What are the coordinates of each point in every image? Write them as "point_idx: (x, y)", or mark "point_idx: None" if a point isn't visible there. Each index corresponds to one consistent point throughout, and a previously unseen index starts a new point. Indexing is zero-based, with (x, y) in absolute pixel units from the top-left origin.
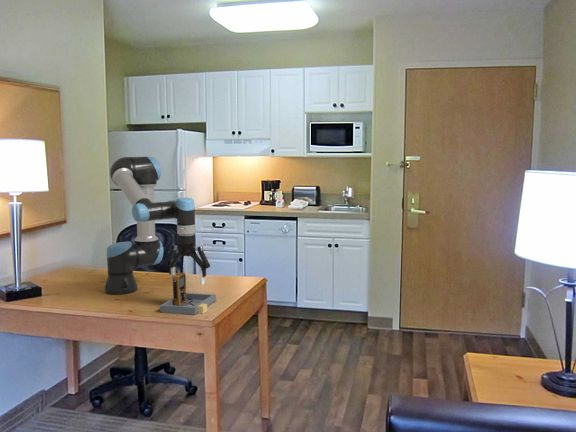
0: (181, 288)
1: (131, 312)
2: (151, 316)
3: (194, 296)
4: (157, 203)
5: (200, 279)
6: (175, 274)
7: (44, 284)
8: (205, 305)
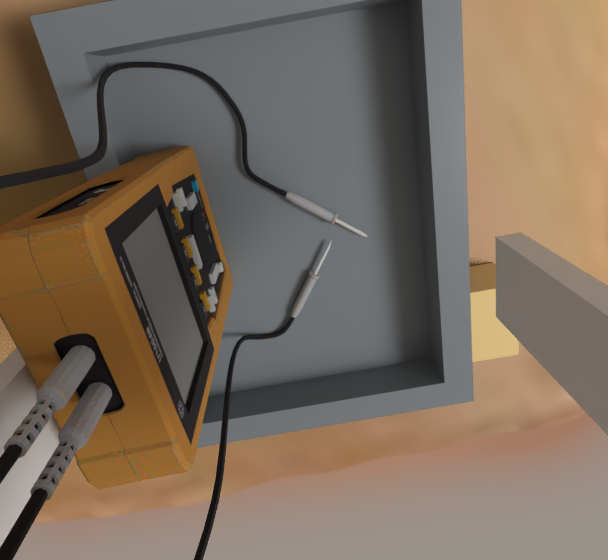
0: (192, 287)
1: None
2: (202, 483)
3: (206, 33)
4: None
5: (541, 354)
6: (20, 383)
7: None
8: None
